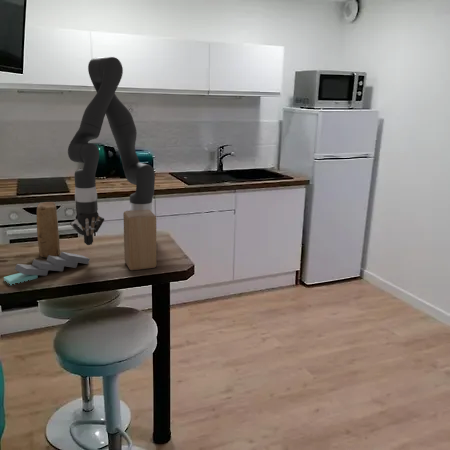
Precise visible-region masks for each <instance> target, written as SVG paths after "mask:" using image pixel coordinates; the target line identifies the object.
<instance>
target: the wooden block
mask: <svg viewBox="0 0 450 450" xmlns="http://www.w3.org/2000/svg"><path fill="white" fill-rule="evenodd" d="M122 217H123V248H124V249H123V250H124V251H123V253H124V256H123V257H124V262H125V264H126V266H127V267H128V269H129V271H138V270H145V269H153V268H154V269H155V268H156V267H157V216H156V215H155V214H154V213H153V211H152V212H151V211H150V210H148V209H146V210H131V211H130V210H125V211H124V212H123V215H122Z"/></svg>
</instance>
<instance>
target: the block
mask: <svg viewBox="0 0 450 450" xmlns="http://www.w3.org/2000/svg"><path fill="white" fill-rule="evenodd" d="M36 232H37V244H38V245H37V247H38V254H39V256H40V257H41V258H46V259H47V258H48V255H50V256H56V257H59V256H60V254H61V247H60V235H59V234H60V233H59V232H60V231H59V221H58V211H57V204H56V203H55V202H54V201H44V202H39V203H38V204H37V207H36Z"/></svg>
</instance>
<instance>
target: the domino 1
mask: <svg viewBox="0 0 450 450" xmlns="http://www.w3.org/2000/svg"><path fill="white" fill-rule="evenodd" d="M36 279H38V275H25V274H22V273H20V272H18V273H14V274H10V275H7V276H3V281H4V282H5V281H6V282H7V284H8V283H9V284H10V285H9V284H8V285H9V286H13V285H12V284H14V285H16V284H15V283H18V284H21V283H24V281H25V282H28V280H29V281H31V280H36ZM6 282H5V283H6ZM20 282H21V283H20Z"/></svg>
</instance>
